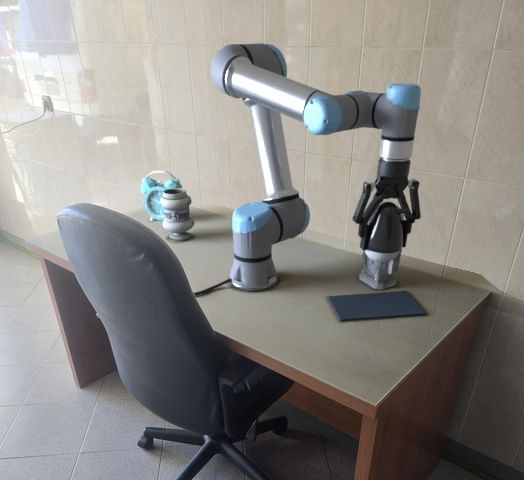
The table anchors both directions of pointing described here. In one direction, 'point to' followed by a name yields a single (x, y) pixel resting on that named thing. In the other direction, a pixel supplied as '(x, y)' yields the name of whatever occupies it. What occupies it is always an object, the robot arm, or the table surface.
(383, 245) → the black rounded piece
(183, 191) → the apothecary jar
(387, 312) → the desk mat
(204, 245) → the table surface
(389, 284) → the figurine
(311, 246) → the table surface
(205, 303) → the table surface
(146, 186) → the alarm clock
